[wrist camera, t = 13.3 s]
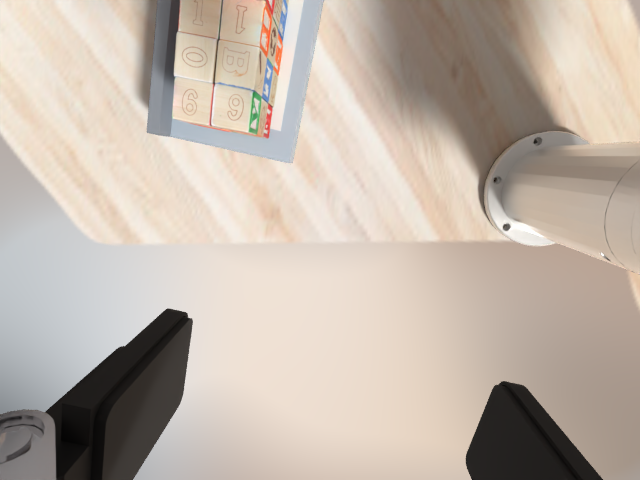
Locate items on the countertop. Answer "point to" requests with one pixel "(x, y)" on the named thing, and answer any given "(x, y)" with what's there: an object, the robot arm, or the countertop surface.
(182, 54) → the stack of blocks
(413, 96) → the countertop surface
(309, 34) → the tray
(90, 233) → the countertop surface
